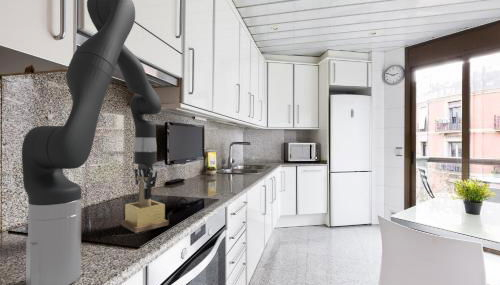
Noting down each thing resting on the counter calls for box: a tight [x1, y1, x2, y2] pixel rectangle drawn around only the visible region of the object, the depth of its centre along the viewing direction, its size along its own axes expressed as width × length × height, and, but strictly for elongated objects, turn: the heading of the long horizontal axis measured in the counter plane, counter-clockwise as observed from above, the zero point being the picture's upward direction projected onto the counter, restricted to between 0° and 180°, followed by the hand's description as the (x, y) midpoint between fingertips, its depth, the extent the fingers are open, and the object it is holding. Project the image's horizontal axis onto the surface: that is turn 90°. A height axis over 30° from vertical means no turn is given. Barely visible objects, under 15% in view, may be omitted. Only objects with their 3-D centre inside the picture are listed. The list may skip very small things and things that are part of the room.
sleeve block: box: [120, 199, 169, 234], centre depth 96 cm, size 12×12×8 cm
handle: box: [137, 176, 152, 208], centre depth 96 cm, size 5×6×15 cm
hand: (145, 197), depth 96 cm, fingers closed on handle, 3 cm apart
